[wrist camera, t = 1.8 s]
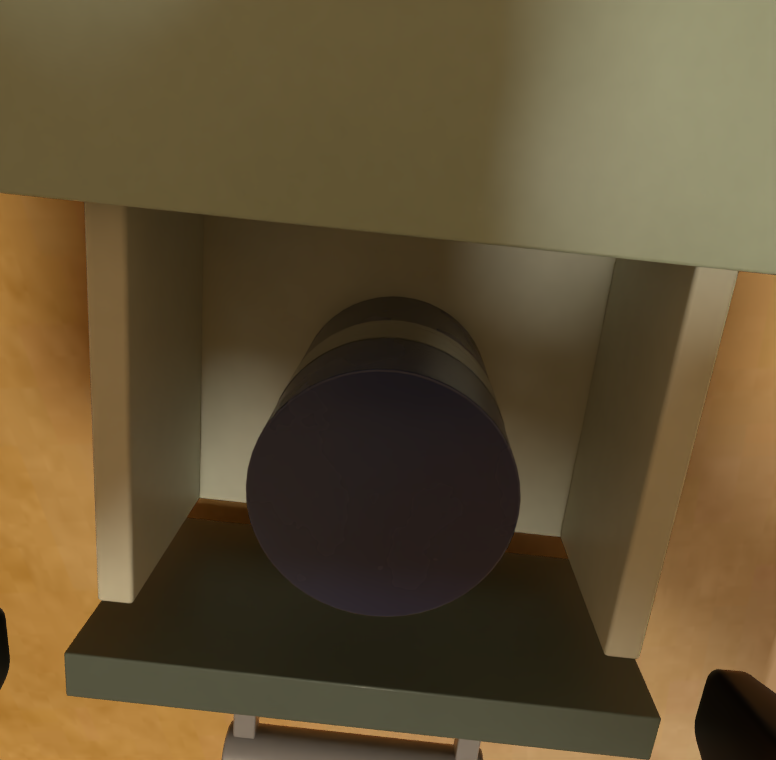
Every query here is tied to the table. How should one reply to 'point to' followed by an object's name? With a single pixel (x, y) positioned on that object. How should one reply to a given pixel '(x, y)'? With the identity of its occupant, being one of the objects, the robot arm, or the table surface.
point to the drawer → (373, 633)
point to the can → (385, 464)
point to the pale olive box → (410, 118)
